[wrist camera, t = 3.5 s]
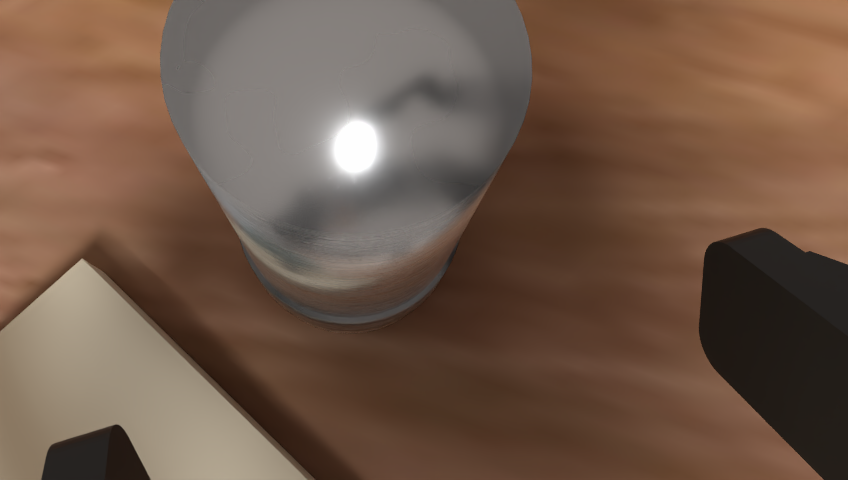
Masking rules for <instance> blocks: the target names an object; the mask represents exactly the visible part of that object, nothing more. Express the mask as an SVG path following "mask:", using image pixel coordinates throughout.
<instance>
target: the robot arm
mask: <svg viewBox="0 0 848 480" xmlns="http://www.w3.org/2000/svg"><path fill="white" fill-rule="evenodd" d="M699 335H700V340H701V344H702V347H703V350H704V352H705V354H706V356H707V358H708V360H709V362H710V363H711V365H712V366H713V367H714V369H715V370H716V371H717V372H718V373H719V374H720V375H721V376H722V377H723V378H724V379H725V380H726V381H727V382H728V383H729V384H730V385H731V386H732V387H733V388H734V389H735V390H736V391H737V392H738V393H739V394H740V395H741V396H742V397H743V398H744V399H745V400H746V401H747V403H748V404H749V405H750V406H751V407H752V408H753V409H754V410H755V411H756V412H757V413H758V414H759V415H760V416H761V417H762V418H763V419H764V420H765V421H766V422H767V423H768V424H769V425H770V426H771V427H772V428H773V429H774V430H775V431H776V432H777V433H778V434H779V435H780V436H781V437H782V438H783V439H784V440H785V441H786V442H787V443H788V444H789V445H790V446H791V447H792V448H793V449H794V450H795V451H796V452H797V453H798V454H799V455H800V456H801V457H802V458H803V459H804V460H805V461H806V462H807V463H808V464H809V465H810V466H811V467H812V468H813V469H814V470H815V471H816V472H817V473H818V474H819V475H820V476H821V477H822V478H823V479H824V480H848V265H847V264H844V263H842V262H839V261H836V260H833V259H830V258H827V257H825V256H822V255H819V254H816V253H813V252H811V251H809V252H806V253H805V252H804V251H802V250H801V249H799V248H798V247H796V246H795V245H793V244H792V243H790V242H789V241H787V240H786V239H784V238H783V237H781V236H780V235H779V234H777V233H776V232H774V231H772V230H770V229H767V228H759V229H756V230H752V231H749V232H746V233H743V234H739V235H736V236H733V237H730V238H726V239H723V240H720V241H717V242H714V243H712V244H710V245H709V246H708V248H707V250H706V252H705V257H704V268H703V281H702V294H701V308H700V321H699ZM41 480H151V479H150V477H149V475H148V473H147V471H146V469H145V467H144V466H143V464H142V462H141V460H140V458H139V456H138V454H137V452H136V450H135V448H134V446H133V444H132V443H131V441H130V439H129V437H128V435H127V433H126V432H125V430H124V429H123V428H122V427H121V426H120V425H118V424H115V425H112V426H108V427H105V428H102V429H99V430H95V431H92V432H89V433H86V434H82V435H79V436H76V437H73V438H69V439H66V440H63V441H60V442H56V443H54V444H52V445H51V446H50V447H49V449H48V451H47V455H46V459H45V464H44V469H43V473H42V478H41Z"/></svg>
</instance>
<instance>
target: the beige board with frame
mask: <svg viewBox="0 0 848 480" xmlns="http://www.w3.org/2000/svg"><path fill="white" fill-rule="evenodd" d="M115 424H118V425H120V426H121V427H122V428H123V429H124V430H125V432H126V433H127V435H128V437H129V439H130V441H131V443H132V444H133V446H134V448H135V450H136V452H137V454H138V456H139V458H140V460H141V462H142V464H143V466H144V467H145V469H146V471H147V473H148V475H149V477H150V479H151V480H315V479H314V478H313V477H312V476H311V475H310V474H309V473H308V472H307V471H306V470H305V469H304V468H303V467H302V466H301V465H300V464H299V463H298V462H297V461H296V460H295V459H294V458H293V457H292V456H291V455H290V454H289V453H288V452H287V451H286V450H285V449H284V448H283V447H282V446H281V445H280V444H279V443H278V442H277V441H276V440H275V439H274V438H272V437H271V436H270V435H269V434H268V433H267V432H266V431H265V430H264V429H263V428H262V427H261V426H260V425H259V424H258V423H257V422H256V421H255V420H254V419H253V418H252V417H251V416H250V415H249V414H248V413H247V412H246V411H245V410H244V409H243V408H242V407H241V406H240V405H239V404H238V403H237V402H236V401H235V400H234V399H233V398H232V397H231V396H230V395H229V394H228V393H227V392H226V391H225V390H224V389H222V388H221V387H220V386H219V385H218V384H217V383H216V382H215V381H214V380H213V379H212V378H211V377H210V376H209V375H208V374H207V373H206V372H205V371H204V370H203V369H202V368H201V367H200V366H199V365H198V364H197V363H196V362H195V361H194V360H193V359H192V358H191V357H190V356H189V355H188V354H187V353H186V352H185V351H184V350H183V349H182V348H181V347H180V346H179V345H178V344H177V343H176V342H175V341H174V340H172V339H171V338H170V337H169V336H168V335H167V334H166V333H165V332H164V331H163V330H162V329H161V328H160V327H159V326H158V325H157V324H156V323H155V322H154V321H153V320H152V319H151V318H150V317H149V316H148V315H147V314H146V313H145V312H144V311H143V310H142V309H141V308H140V307H139V306H138V305H137V304H136V303H135V302H134V301H133V300H132V299H131V298H130V297H129V296H128V295H127V294H126V293H125V292H124V291H122V290H121V289H120V288H119V287H118V286H117V285H116V284H115V283H114V282H113V281H112V280H111V279H110V278H109V277H108V276H107V275H106V274H105V273H104V272H103V271H101V270H100V269H98V268H97V267H95V266H93V265H92V264H90V263H89V262H87V261H86V260H84V259H81V260H80V261H79V262H78V263H76V264H75V265H74V266H73V267H72V268H71V269H70V270H69V271H67V272H66V273H65V274H64V275H63V276H62V277H61V278H60V279H58V280H57V281H56V282H55V283H54V284H53V285H52V286H51V287H49V288H48V289H47V290H46V291H45V292H44V293H43V294H42V295H40V296H39V297H38V298H37V299H36V300H35V301H34V302H33V303H32V304H30V305H29V306H28V307H27V308H26V309H25V310H24V311H23V312H21V313H20V314H19V315H18V316H17V317H16V318H15V319H14V320H12V321H11V322H10V323H9V324H8V325H7V326H6V327H5V328H3V329H2V330H1V331H0V480H41V478H42V473H43V469H44V464H45V459H46V455H47V451H48V449H49V447H50V446H51V445H52V444H54V443H56V442H60V441H63V440H66V439H69V438H73V437H76V436H79V435H82V434H86V433H89V432H92V431H95V430H99V429H102V428H105V427H108V426H112V425H115Z"/></svg>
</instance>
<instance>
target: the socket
mask: <svg viewBox="0 0 848 480" xmlns="http://www.w3.org/2000/svg"><path fill="white" fill-rule="evenodd" d="M160 67H161V81H162V87H163V93H164V98H165V102H166V105H167V108H168V111H169V114H170V117H171V120H172V123H173V125H174V127H175V129H176V131H177V132H178V134H179V136H180V138H181V140H182V142H183V144H184V146H185V148H186V149H187V151H188V153H189V154H190V156H191V158H192V159H193V161H194V163H195V164H196V166H197V168H198V169H199V171H200V173H201V174H202V176H203V178H204V180H205V181H206V183H207V185H208V186H209V188H210V190H211V191H212V193H213V195H214V196H215V198H216V200H217V201H218V203H219V205H220V206H221V208H222V210H223V211H224V213H225V215H226V217H227V218H228V220H229V222H230V223H231V225H232V227H233V228H234V230H235V232H236V233H237V235H238V237H239V238H240V242H241V245H242V248H243V250H244V253H245V256H246V258H247V260H248V262H249V264H250V266H251V268H252V269H253V271H254V272H255V274H256V276H257V277H258V279H259V280H260V282H261V283H262V285H263V286H264V288H265V289H266V291H267V292H268V293H269V294H270V295H271V296H272V298H273V299H274V300H275V301H276V302H277V303H278V304H279V305H281V306H282V307H283V308H284V309H285V310H287V311H288V312H289V313H291V314H293V315H294V316H296V317H297V318H299V319H300V320H302V321H304V322H305V323H308V324H310V325H312V326H314V327H317V328H320V329H323V330H327V331H331V332H337V333H363V332H369V331H373V330H378V329H381V328H383V327H386V326H389V325H391V324H393V323H395V322H396V321H398V320H400V319H402V318H403V317H404V316H406V315H408V314H409V313H410V312H412V311H413V310H415V309H416V308H417V307H418V306H419V305H420V304H422V303H423V302H424V301H425V300H426V299H427V298H428V297H429V295H430V294H431V293H432V292H433V290H434V289H435V288H436V286H437V285H438V283H439V281H440V280H441V278H442V276H443V275H444V273H445V271H446V270H447V268H448V266H449V265H450V263H451V261H452V259H453V256H454V254H455V252H456V249H457V246H458V242H459V239H460V237H461V235H462V233H463V231H464V230H465V228H466V226H467V224H468V223H469V221H470V219H471V217H472V216H473V214H474V212H475V210H476V209H477V207H478V205H479V203H480V202H481V200H482V198H483V196H484V195H485V193H486V191H487V189H488V188H489V186H490V184H491V182H492V181H493V179H494V177H495V175H496V174H497V172H498V170H499V168H500V167H501V165H502V163H503V161H504V159H505V158H506V156H507V154H508V152H509V151H510V149H511V147H512V145H513V144H514V142H515V140H516V138H517V135H518V133H519V131H520V128H521V126H522V124H523V121H524V118H525V114H526V111H527V107H528V103H529V100H530V91H531V83H532V56H531V50H530V44H529V37H528V34H527V30H526V27H525V24H524V20H523V17H522V15H521V12H520V10H519V8H518V6H517V4H516V1H515V0H174V1H173V3H172V5H171V7H170V10H169V13H168V16H167V20H166V23H165V27H164V30H163V36H162V44H161V52H160Z"/></svg>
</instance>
